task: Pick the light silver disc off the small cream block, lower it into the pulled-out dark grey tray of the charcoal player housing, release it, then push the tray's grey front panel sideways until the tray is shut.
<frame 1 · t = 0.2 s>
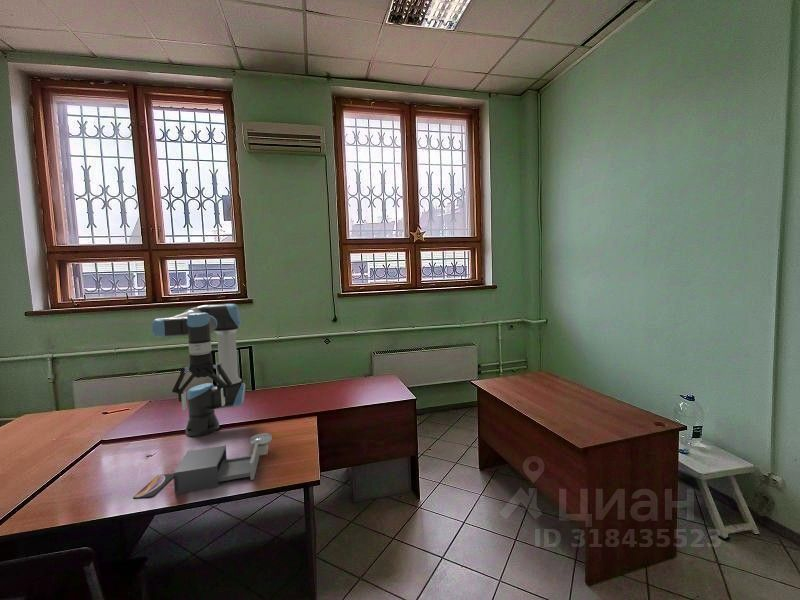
hand: (204, 407, 136), 28 cm above the table, fingers open, 13 cm apart
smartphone: (155, 487, 132), on the table
tray: (237, 463, 139), point 4 cm above the table, slide at 11.0 cm
pedestal: (261, 452, 155), on the table
disc: (261, 441, 155), point 5 cm above the table, touching pedestal
housing: (202, 478, 136), on the table
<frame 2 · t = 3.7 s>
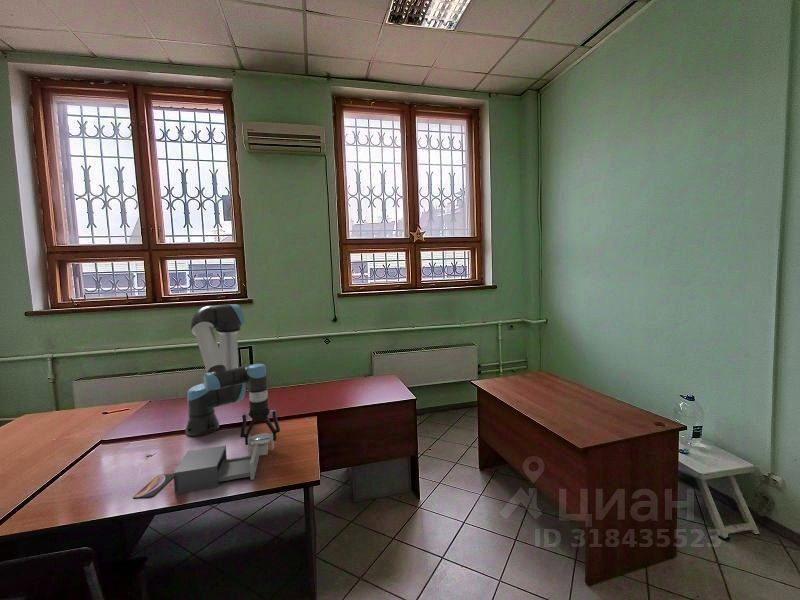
hand: (261, 449, 155), 1 cm above the table, fingers closed on disc, 9 cm apart
disc: (261, 441, 155), point 5 cm above the table, touching gripper, pedestal
everything else where it was.
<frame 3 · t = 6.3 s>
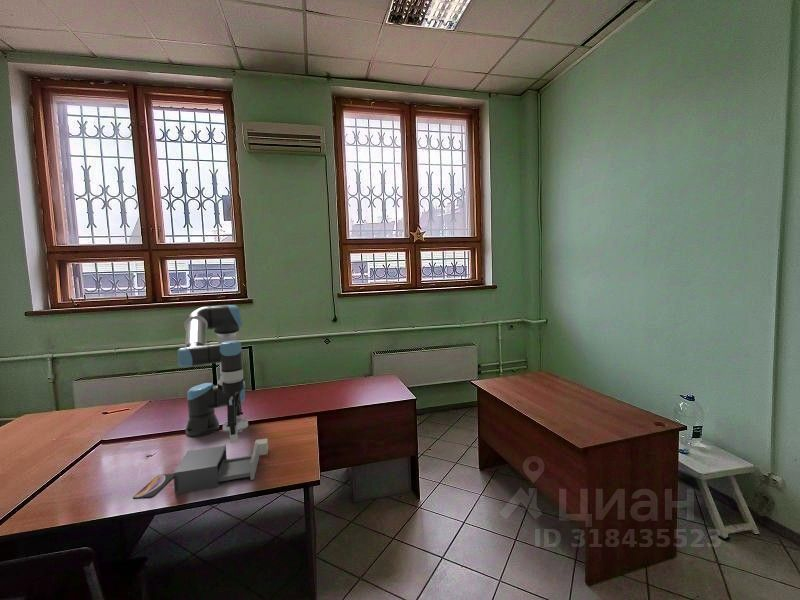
hand: (236, 436, 138), 15 cm above the table, fingers closed on disc, 9 cm apart
disc: (235, 427, 138), point 18 cm above the table, touching gripper
everything else where it was.
when the fingers open (3 cm above the table, at t = 8.8 s): disc drops 5 cm, resting on tray.
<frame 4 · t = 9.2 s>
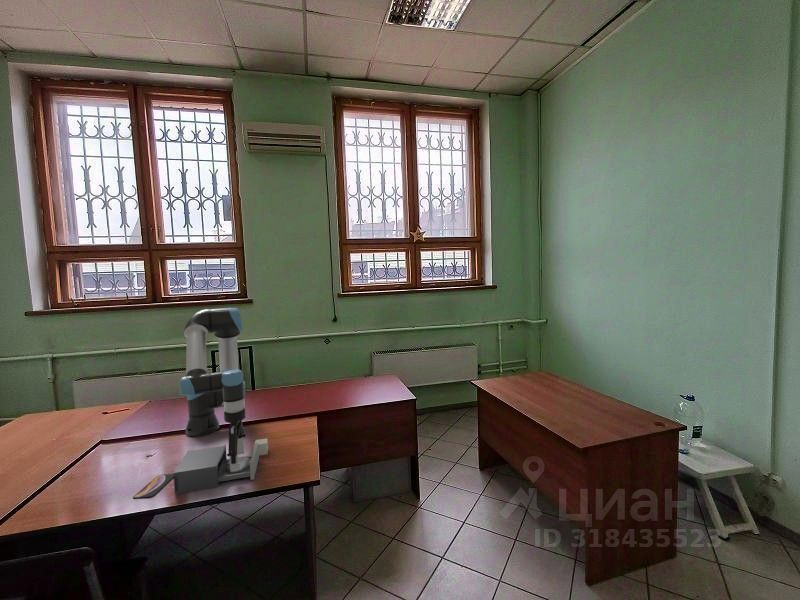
hand: (237, 462, 139), 4 cm above the table, fingers open, 13 cm apart
tray: (237, 463, 139), point 4 cm above the table, slide at 11.0 cm, touching disc
disc: (238, 467, 140), point 2 cm above the table, touching tray
everything else where it was.
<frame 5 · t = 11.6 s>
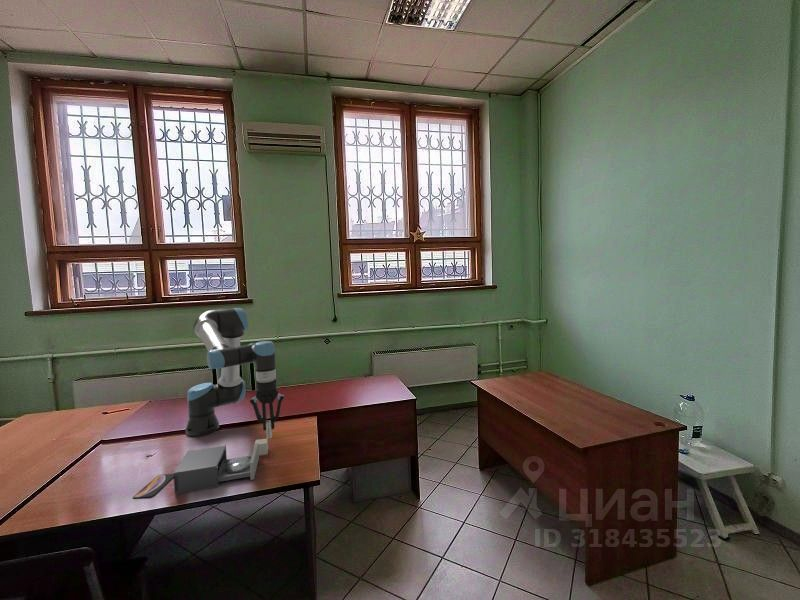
hand: (269, 437, 142), 12 cm above the table, fingers closed
nothing on the table moved.
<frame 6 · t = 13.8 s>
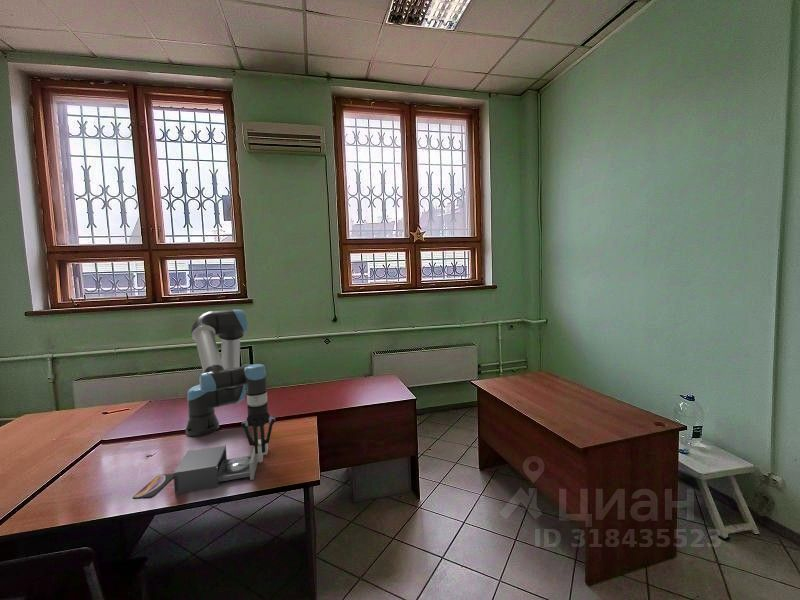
hand: (260, 460, 142), 3 cm above the table, fingers closed
tray: (237, 463, 139), point 4 cm above the table, slide at 10.9 cm, touching disc, gripper
everything else where it was.
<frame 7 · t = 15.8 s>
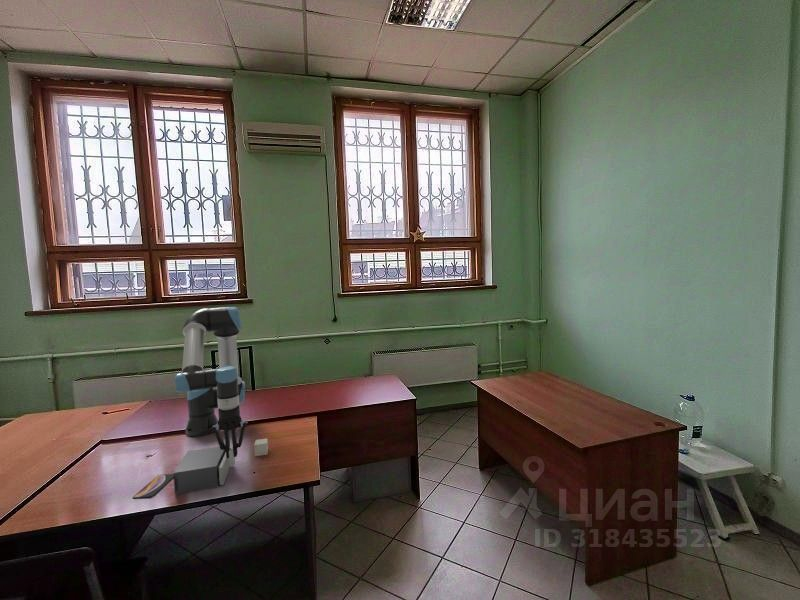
hand: (232, 464, 139), 3 cm above the table, fingers closed
tray: (207, 467, 136), point 4 cm above the table, slide at 0.4 cm, touching disc, gripper
disc: (208, 472, 137), point 2 cm above the table, touching tray
everything else where it was.
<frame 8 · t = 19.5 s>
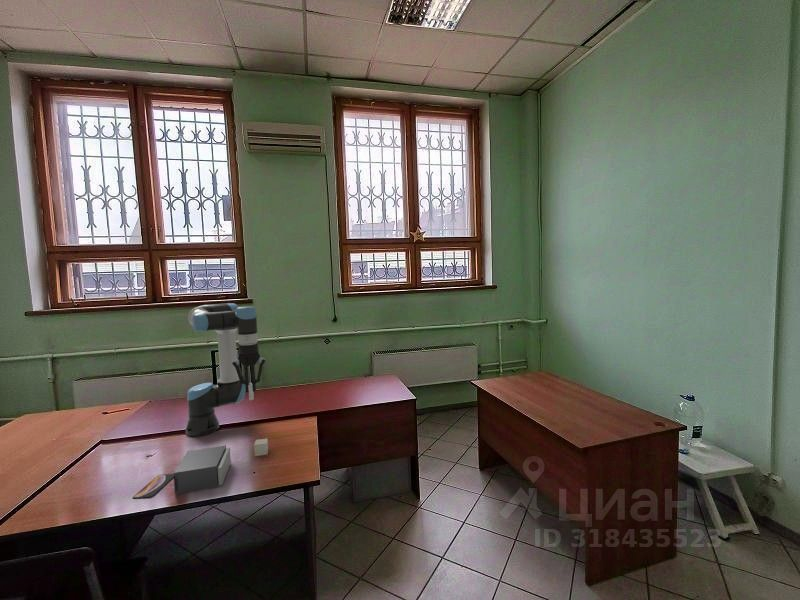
hand: (251, 399, 147), 26 cm above the table, fingers closed
tray: (206, 468, 136), point 4 cm above the table, slide at 0.0 cm, touching disc
everything else where it was.
at the end: tray slide at 0.0 cm; disc inside the target area on the housing (1.5 cm from its centre), point 1.9 cm above the housing's base; the gripper is holding nothing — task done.
